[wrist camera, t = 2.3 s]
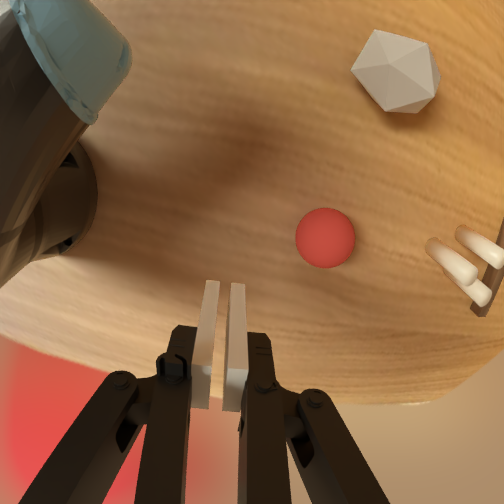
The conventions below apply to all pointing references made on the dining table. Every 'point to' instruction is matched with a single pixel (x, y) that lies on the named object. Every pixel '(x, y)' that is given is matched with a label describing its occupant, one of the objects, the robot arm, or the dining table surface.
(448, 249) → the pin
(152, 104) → the dining table surface
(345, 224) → the ball
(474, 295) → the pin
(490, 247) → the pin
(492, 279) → the back rail
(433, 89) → the die
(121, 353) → the dining table surface
